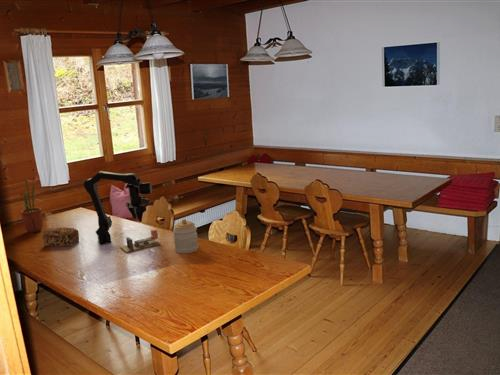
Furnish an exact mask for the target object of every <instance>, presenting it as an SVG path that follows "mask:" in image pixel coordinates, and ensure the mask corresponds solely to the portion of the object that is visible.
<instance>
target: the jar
mask: <svg viewBox="0 0 500 375" xmlns="http://www.w3.org/2000/svg"><path fill="white" fill-rule="evenodd" d="M173 227H174V229H173V230H172V232H173V234H174V235H173V240H174V250H175V252H176V253H178V254H191V253H194V252H197V251H198V250H199V240H198V232H197V230H198V229H197V226H196V223H195V222H192V221H191V220H187V219H186V218H183V219H181V221H178V222H177V223H176V224H174V226H173Z"/></svg>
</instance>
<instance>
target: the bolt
mask: <svg viewBox="0 0 500 375" xmlns="http://www.w3.org/2000/svg"><path fill="white" fill-rule="evenodd" d="M150 235H151V236H150V237H146V238H140V239H137V240H134V241H133V242H134V243H135V244H139V243H143V242H147V241H152V240H156V241H157V239H159V237H158V229H156V228H154V229H150ZM134 243H133V244H134Z"/></svg>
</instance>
